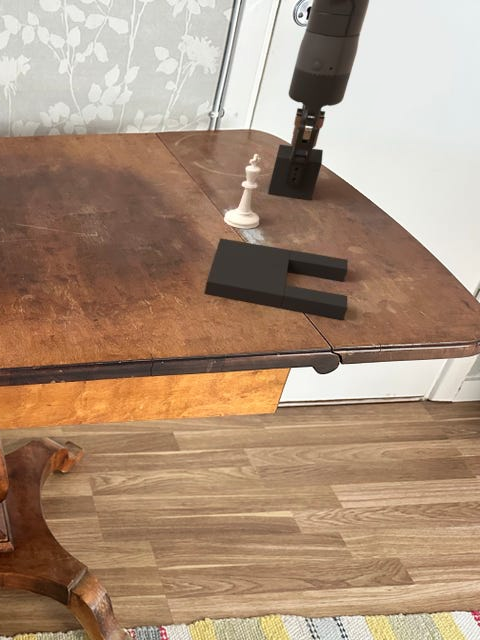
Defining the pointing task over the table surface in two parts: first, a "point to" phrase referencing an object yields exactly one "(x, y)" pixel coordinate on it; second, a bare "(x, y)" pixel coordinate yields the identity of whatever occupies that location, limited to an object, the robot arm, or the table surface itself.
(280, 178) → the pad piece
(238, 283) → the base pad
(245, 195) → the chess piece
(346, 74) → the robot arm
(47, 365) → the table surface
